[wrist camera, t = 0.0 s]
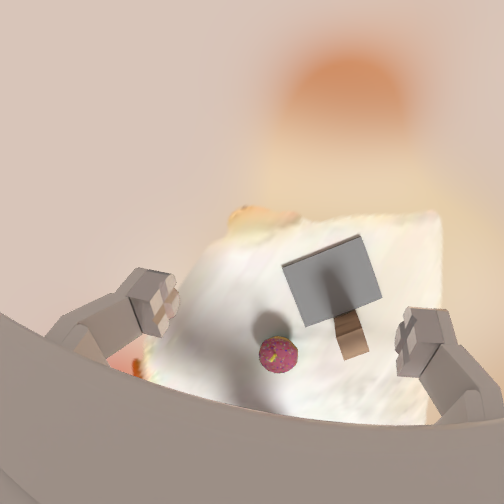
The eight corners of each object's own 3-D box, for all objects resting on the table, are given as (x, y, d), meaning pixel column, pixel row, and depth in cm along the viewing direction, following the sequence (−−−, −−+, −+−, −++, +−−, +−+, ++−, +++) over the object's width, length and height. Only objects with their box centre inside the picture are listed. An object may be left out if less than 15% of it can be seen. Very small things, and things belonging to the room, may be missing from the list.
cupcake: (258, 334, 67) (245, 355, 56) (293, 325, 65) (287, 346, 54) (269, 367, 67) (258, 392, 56) (304, 359, 65) (299, 384, 54)
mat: (381, 297, 60) (382, 297, 60) (305, 326, 65) (305, 327, 64) (360, 236, 61) (360, 236, 60) (282, 267, 65) (282, 268, 64)
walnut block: (362, 331, 62) (369, 352, 50) (341, 339, 63) (344, 361, 51) (355, 310, 62) (362, 328, 50) (334, 318, 63) (336, 337, 52)
